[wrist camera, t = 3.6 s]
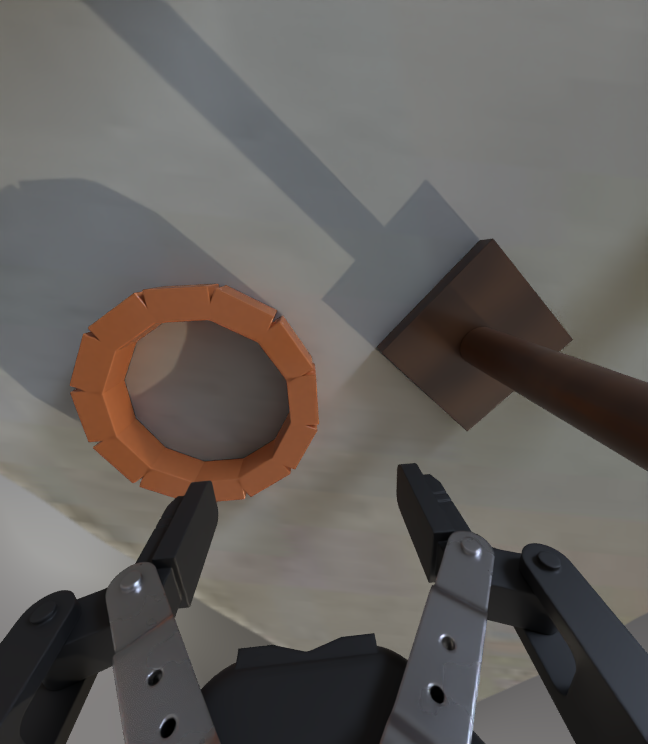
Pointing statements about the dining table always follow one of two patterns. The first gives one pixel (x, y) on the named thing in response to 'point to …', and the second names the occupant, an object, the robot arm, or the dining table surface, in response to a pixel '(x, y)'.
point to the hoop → (135, 443)
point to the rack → (511, 356)
